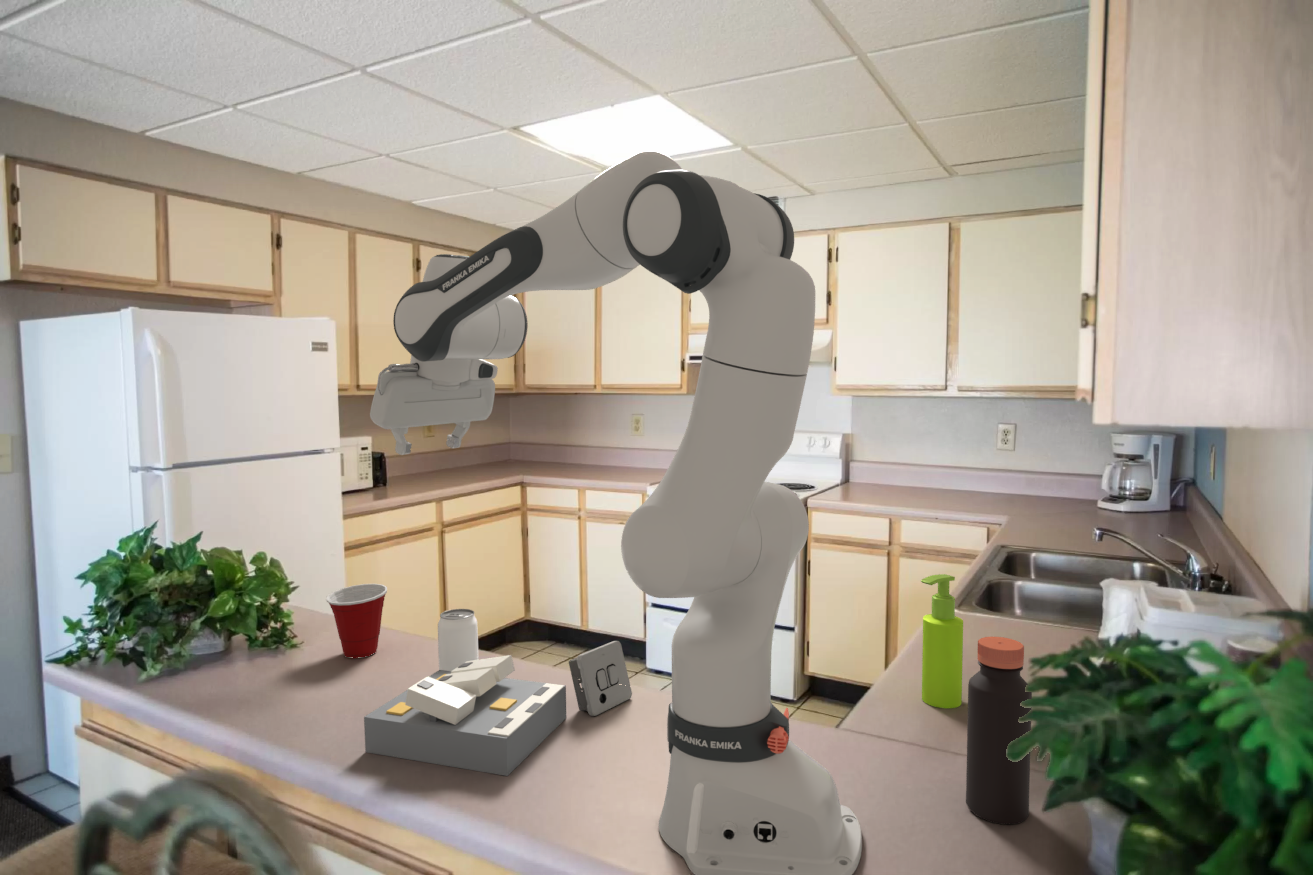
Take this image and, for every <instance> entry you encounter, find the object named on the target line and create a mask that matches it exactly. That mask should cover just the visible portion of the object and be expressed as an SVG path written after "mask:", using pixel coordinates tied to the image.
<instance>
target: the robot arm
mask: <svg viewBox="0 0 1313 875" xmlns="http://www.w3.org/2000/svg"><path fill="white" fill-rule="evenodd" d="M794 246H795V231H794V228H793V224H792V222H791V220H790V218H789V216H788V215H787V213H786V211H784V210H783V209H782V207H780V205H779V204H777V203H776V202H775V201H773V200H772V199H770V198H769V197H767V196H765V195H762V194H759V193H754V192H753V191H750V190H748V189H745V188H743V187H741V186H739V185H738V184H737V183H735V182H732V181H731V180H726V179H724V178H720V177H719V178H718V177H714V176H710V175H703V174H698V173H696V172H694V171H691V170H685V169H683V168H682V166H681V165H680V164H678V163H677V162H676V160H674V159H673V158H672V157H671V156H669V155H667V154H666V153H663V152H661V151H658V150H650V149H649V150H647V149H646V150H642V151H639V152H635V154H632V155H630V156H628V157H627V158H624V159H622V160H621V161H619V162H617V163H615V164H614V165H612V166H611V167H609V168H608V169H606V170H604V171H603V172H601V173H600V174H599V175H597V176H596V177H595V178H593V179H592V180H591V181H590V182H588V183H586V184H585V185H584V186H583V187H582V188H581V189H579V191H577V192H576V193H575V194H574V195H572V196H570V197H569V198H568V199H567V200H565V201H564V202H563V203H561V204H559V205H557V206H556V207H555V208H553V209H551V210H550V211H548V212H547V213H545V214H543V215H541V216H539V217H538V218H536V219H534V220H532V221H530V222H528V223H526V224H524V225H522V226H520V227H517V228H515V229H513V230H511V231H509V232H506V233H505V234H503V235H501V236H499V237H498V238H496V239H494V240H492V241H491V242H490V243H488V244H486V245H485V246H484V247H482V248H480V249H479V250H477V251H476V252H475V253H473V254H471V255H470V256H469V255H468V256H466V255H460V254H458V255H457V254H449V253H446V254H444V253H443V254H442V253H441V254H436V255H434V256H432V257H431V258H430V259H429V261H428V263H427V265H426V268H425V272H424V275H423V278H422V281H420V282H416V283H414V284H412V286H410V287H409V288H408V289H407V290H406V291H405V292H404V293H403V295H402V296H401V298H400V299H399V301H398V302H397V304H396V307H395V309H394V311H393V312H394V313H393V319H392V320H393V321H392V322H393V330H394V334H395V335H396V338H397V339H398V342H400V344H401V345H402V347H403V348H404V349H405V350H406V351H407V352H408V353H409V354H410V362H409V363H402V364H399V363H391V364H388V366H387V367H385V368H383V369H382V371H380V372H379V374H378V377H377V384H376V387H375V391H374V395H373V397H372V398H373V399H372V402H371V407H370V410H369V417H370V420H371V421H372V422H373V424H374V425H377V426H378V427H380V428H382V429H384V430H390V431H391V434H392V435H393V438H394V440H395V441H396V442H395V448H394V451H395V453H396V454H398V455H400V456H404V455H410V454H411V452H412V451H411V449H412V443H411V442H409V441H407V439H406V437H405V435H407V434H408V432H409V428H415V427H427V426H436V425H445V424H446V425H447V424H455V427H454V429H453V431H452V432H451V434H447V435H446V436H447V437H446V446H447V447H448V448H450V449H457V448H460V447H461V445H462V439H463V438H464V436H465V435H466V434H467V432H468V431H469V429H470V427H471V423H472V422H477V421H478V422H479V421H486V420H487V419H488V418H489V417H490V415H491V414H492V412H493V407H494V402H495V393H496V384H495V381H494V380H493V379H495V378H496V377H497V375H498V369H499V368H498V366H497V365H496V364H494V363H492V362H490V361H488V360H504V359H509V358H511V357H514V356H515V355H516V354H517V353H518V352H519V351H520V350H521V348H522V347H523V345H524V343H525V341H526V338H527V334H528V327H529V326H528V322H529V321H528V316H527V313H526V310H525V307H524V306H523V303H521V301H520V299H518V298H517V297H516V296H515V295H516V294H521V293H528V292H536V291H537V292H538V291H587V290H588V291H591V290H595V289H599V288H601V287H603V286H605V285H608V284H611V283H613V282H616V281H618V280H619V279H622V278H623V277H625V276H626V275H628V274H629V273H631V272H632V271H633V270H635V269H636V268H637V267H639V266H641V267H643V268H644V269H646V270H647V271H649V272H650V273H652V274H654V276H657V277H659V278H660V279H662V280H664V281H665V282H668V283H669V284H670V285H672V286H674V287H675V288H676V289H678V290H679V291H681V292H682V293H684V294H687V295H688V294H693V293H696V292H698V291H699V292H700V293H701V294H702V296H703V297H704V299H705V301H706V303H707V306H708V314H709V316H708V317H709V318H708V326H707V332H706V336H705V337H706V338H705V341H704V347H703V353H702V357H701V363H700V367H699V373H698V377H697V381H696V382H697V384H696V388H695V393H694V397H693V402H692V407H691V411H690V416H689V420H688V423H687V427H686V429H685V432H684V433H683V434H684V435H683V437H682V439H681V441H680V443H679V446H678V449H677V451H676V452H675V454H674V456H673V458H672V460H671V462H670V464H669V466H668V467H667V469H666V471H665V474H664V475H663V477H662V479H661V480H660V482H659V483H658V484H657V486H656V488H654V490H653V492H652V493H651V495H649V497H647V499H646V500H645V501H644V502H643V503H642V504H641V505H640V506H638V507H637V509H635V510H634V511H633V512H632V513H631V514H630V516H628V518H627V521H626V522H625V524H624V527H623V530H622V533H621V534H622V536H621V545H620V547H621V549H620V550H621V558H622V562H623V565H624V568H625V570H626V573H627V574H628V576H629V578H630V580H631V581H632V582H633V583H634V584H635V585H636V587H637V588H638V589H639V590H641V591H642V592H643V593H645V594H646V595H648V596H651V597H653V598H658V599H683V598H684V599H685V598H692V601H691V604H690V607H689V608H688V611H687V612H686V614H685V616H684V617H683V618H682V620H681V621H680V622H679V624H678V626H676V629H675V631H674V633H673V636H672V639H671V640H672V641H671V702H670V703H669V705H668V713H667V717H666V718H667V720H666V721H667V723H666V726H667V727H666V729H667V730H666V731H667V732H666V735H667V737H666V738H667V739H666V740H667V742H668V744H667V745H668V753H669V754H670V760H669V761H670V762H669V772H668V780H667V786H666V793H665V798H664V803H663V806H662V810H661V813H660V816H659V819H658V830H659V834H660V836H661V838H662V839H663V841H664V842H665V843H666V845H667V846H669V848H671V849H672V850H673V851H674V852H676V853H677V854H679V855H680V856H681V857H682V858H683V859H684V861H685V863H686V865H687V867H688V868H689V870H690V871H691V873H692V874H693V875H854V873H855V872H856V870H857V868H858V866H859V863H860V859H861V857H862V851H863V850H862V848H863V837H862V827H861V824H860V822H859V819H858V817H857V816H856V814H855V813H854V812H853V811H852V809H851V808H850V807H849V806H846V805H843V804H841V802H840V796H839V793H838V788H837V786H836V782H835V780H834V778H833V776H832V774H831V773H830V771H829V770H828V769H827V768H826V767H825V766H823V765H822V764H821V763H819V761H817V760H816V759H814V758H813V757H812V756H810V755H809V754H808V753H806V752H805V751H804V750H803V749H802V748H800V747H799V746H798V745H796V743H794V742H793V741H791V739H790V721H789V720H790V718H789V717H790V713H789V712H790V711H789V708H788V707H786V708H785V709H784V712H783V713H782V712H781V710H779V709H778V708H777V707H776V706H775V705H774V704H773V703H772V701H771V693H772V692H771V689H772V688H771V683H772V681H771V680H772V650H773V649H772V647H773V638H774V632H775V626H776V623H777V622H776V621H777V617H778V613H779V608H780V605H781V602H782V598H783V594H784V591H785V588H786V587H785V586H786V584H787V580H788V577H789V574H790V571H791V569H792V567H793V564H794V563H795V561H796V559H797V557H798V555H799V554H800V552H801V551H802V549H803V548H804V547H805V545H806V542H807V539H808V536H809V531H810V524H809V523H810V522H809V517H808V513H807V509H806V507H805V505H804V503H803V502H802V500H801V499H800V497H799V496H798V495H797V494H796V493H795V492H794V491H793V490H792V489H790V488H788V487H786V486H785V485H782V484H779V483H776V482H775V483H774V482H769V481H766V480H767V478H768V476H769V475H770V473H771V471H772V470H773V469H774V467H775V466H776V465H777V464H778V462H780V460H781V459H782V458H783V457H784V456H785V455H786V453H787V452H788V450H789V449H790V447H791V446H792V444H793V440H794V436H795V431H796V427H797V421H798V417H799V412H800V408H801V404H802V400H803V396H804V395H803V394H804V389H805V386H806V381H807V376H808V370H809V366H810V360H811V356H812V348H813V347H812V346H813V342H814V341H813V340H814V332H815V331H814V330H815V321H816V318H815V317H816V285H815V282H814V280H813V278H812V276H811V275H810V273H809V272H808V271H807V270H806V269H805V268H804V267H802V266H801V265H800V264H798V263H797V262H795V261H793V260H792V256H793V252H794V248H795V247H794Z"/></svg>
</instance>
